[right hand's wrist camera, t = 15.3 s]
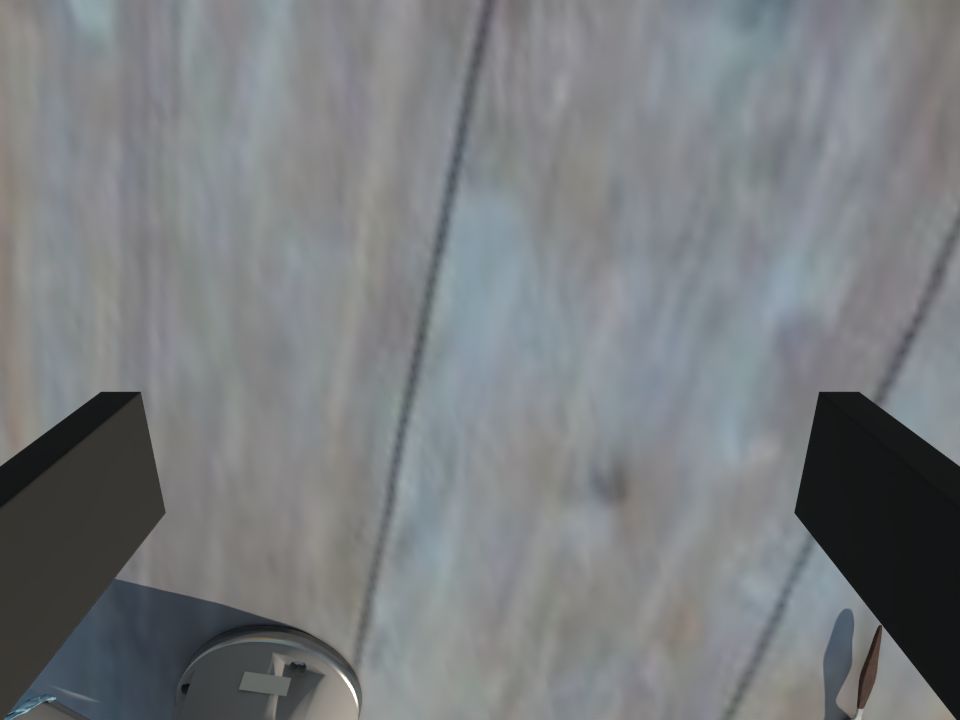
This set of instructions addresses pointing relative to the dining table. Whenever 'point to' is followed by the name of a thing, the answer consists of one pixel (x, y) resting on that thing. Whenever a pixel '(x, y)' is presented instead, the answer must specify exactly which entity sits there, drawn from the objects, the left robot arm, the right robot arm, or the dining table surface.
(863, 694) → the fork
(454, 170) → the dining table surface
